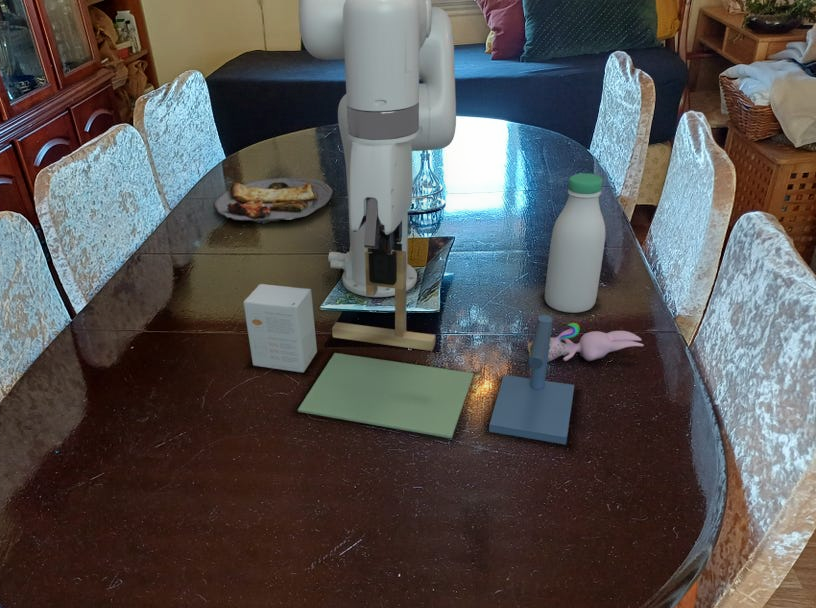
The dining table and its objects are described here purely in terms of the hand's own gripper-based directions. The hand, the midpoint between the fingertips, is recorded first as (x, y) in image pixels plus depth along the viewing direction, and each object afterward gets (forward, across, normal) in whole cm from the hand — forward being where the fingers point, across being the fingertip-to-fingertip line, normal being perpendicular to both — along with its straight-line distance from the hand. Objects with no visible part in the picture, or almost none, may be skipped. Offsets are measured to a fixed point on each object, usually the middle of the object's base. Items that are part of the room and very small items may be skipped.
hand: (385, 277), depth 86 cm
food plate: (+17, -59, -43) cm, 75 cm away
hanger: (+9, 0, 0) cm, 9 cm away
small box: (+17, -4, -17) cm, 24 cm away
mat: (+17, 0, 0) cm, 17 cm away
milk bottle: (+17, -31, +20) cm, 41 cm away
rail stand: (+17, -1, +18) cm, 25 cm away
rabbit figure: (+17, -15, +23) cm, 33 cm away
